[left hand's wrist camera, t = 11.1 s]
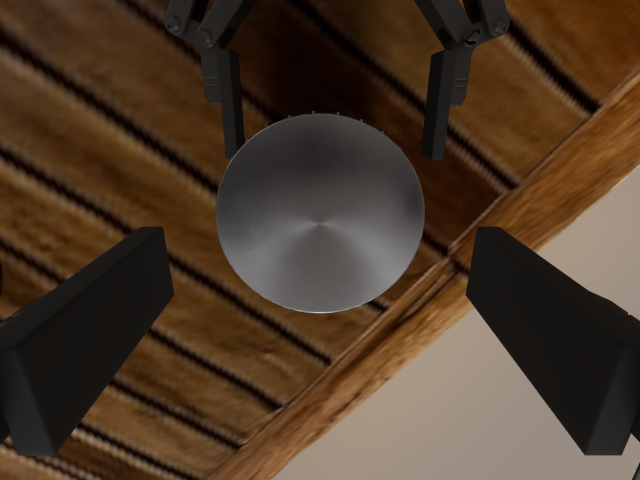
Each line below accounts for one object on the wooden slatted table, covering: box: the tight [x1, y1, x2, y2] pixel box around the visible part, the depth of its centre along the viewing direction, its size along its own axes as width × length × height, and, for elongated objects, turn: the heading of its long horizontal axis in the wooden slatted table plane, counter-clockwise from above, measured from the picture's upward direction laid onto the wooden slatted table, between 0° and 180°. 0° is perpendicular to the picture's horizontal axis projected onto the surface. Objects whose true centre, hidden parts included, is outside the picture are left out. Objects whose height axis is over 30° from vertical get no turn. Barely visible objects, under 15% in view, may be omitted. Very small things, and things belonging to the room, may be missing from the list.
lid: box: [215, 110, 425, 313], centre depth 18 cm, size 10×10×2 cm
